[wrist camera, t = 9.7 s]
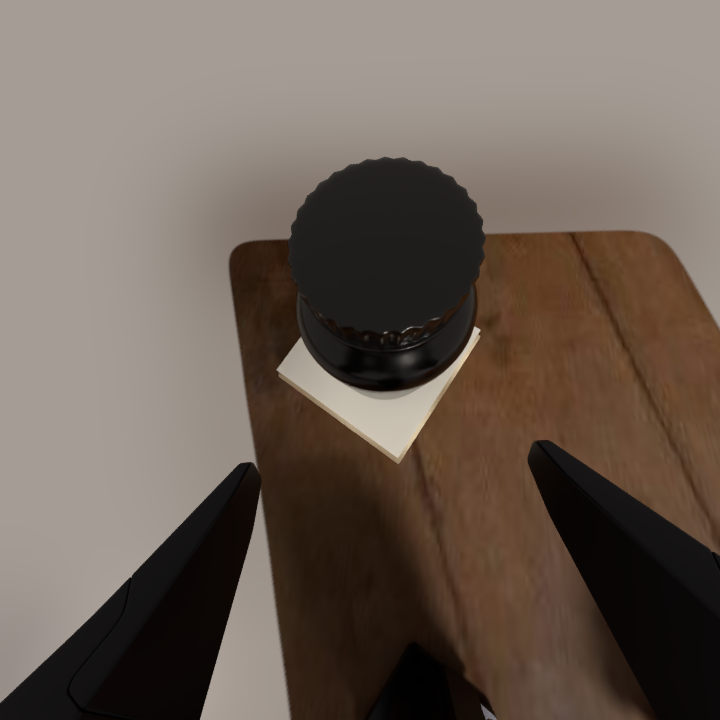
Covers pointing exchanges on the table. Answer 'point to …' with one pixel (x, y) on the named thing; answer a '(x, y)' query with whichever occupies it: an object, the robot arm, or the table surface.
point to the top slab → (367, 399)
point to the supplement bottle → (386, 274)
